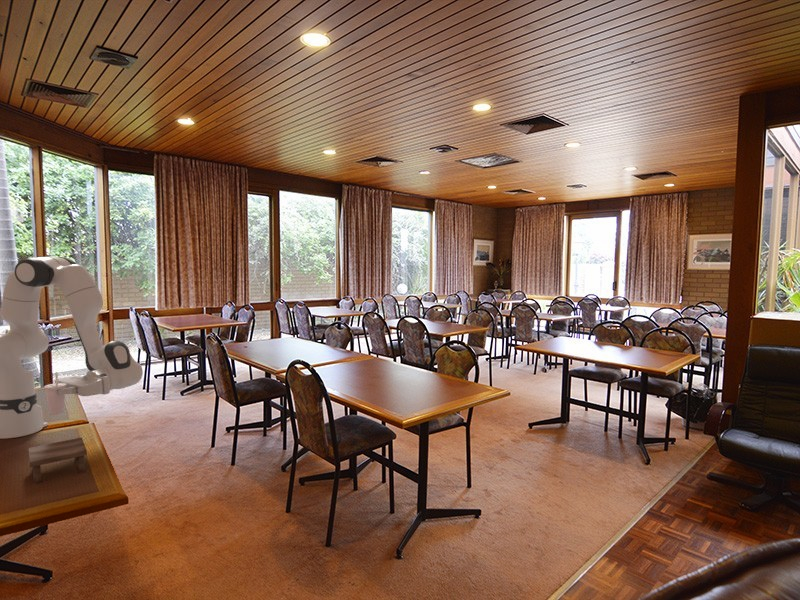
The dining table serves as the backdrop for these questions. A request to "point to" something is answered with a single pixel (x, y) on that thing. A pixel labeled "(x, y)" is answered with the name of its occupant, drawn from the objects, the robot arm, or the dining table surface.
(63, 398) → the smoothie
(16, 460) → the dining table surface
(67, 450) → the stool
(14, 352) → the robot arm
